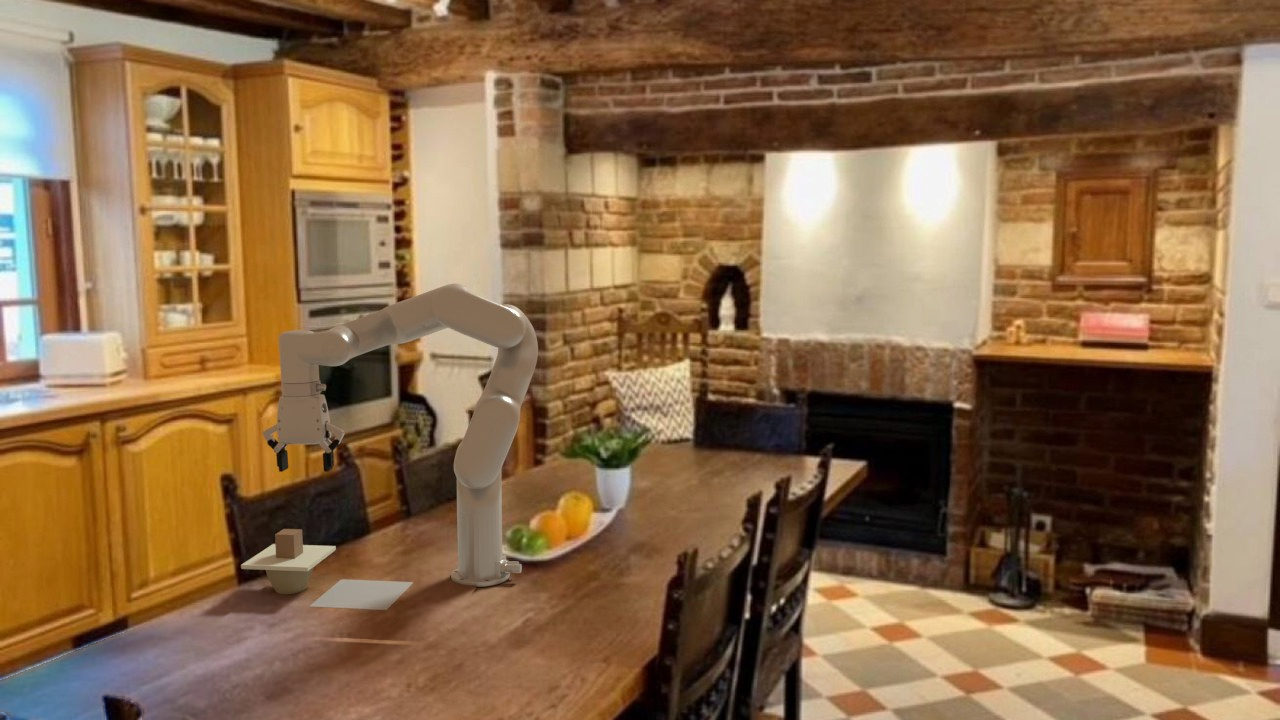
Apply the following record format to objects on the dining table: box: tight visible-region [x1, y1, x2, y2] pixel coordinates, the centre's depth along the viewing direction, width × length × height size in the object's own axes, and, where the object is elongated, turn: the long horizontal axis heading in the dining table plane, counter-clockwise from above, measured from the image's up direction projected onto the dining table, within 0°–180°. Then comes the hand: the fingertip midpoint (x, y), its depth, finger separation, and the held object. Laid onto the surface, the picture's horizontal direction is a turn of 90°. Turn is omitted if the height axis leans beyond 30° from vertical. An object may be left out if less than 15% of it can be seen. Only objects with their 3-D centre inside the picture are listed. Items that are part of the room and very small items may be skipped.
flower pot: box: [265, 567, 314, 595], centre depth 211 cm, size 10×10×7 cm
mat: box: [308, 578, 414, 611], centre depth 209 cm, size 16×16×1 cm
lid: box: [240, 528, 337, 571], centre depth 210 cm, size 14×14×6 cm
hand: (306, 470), depth 213 cm, fingers open, 9 cm apart
